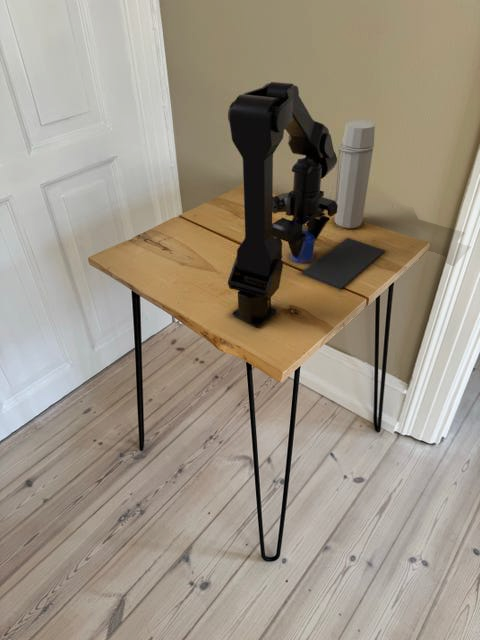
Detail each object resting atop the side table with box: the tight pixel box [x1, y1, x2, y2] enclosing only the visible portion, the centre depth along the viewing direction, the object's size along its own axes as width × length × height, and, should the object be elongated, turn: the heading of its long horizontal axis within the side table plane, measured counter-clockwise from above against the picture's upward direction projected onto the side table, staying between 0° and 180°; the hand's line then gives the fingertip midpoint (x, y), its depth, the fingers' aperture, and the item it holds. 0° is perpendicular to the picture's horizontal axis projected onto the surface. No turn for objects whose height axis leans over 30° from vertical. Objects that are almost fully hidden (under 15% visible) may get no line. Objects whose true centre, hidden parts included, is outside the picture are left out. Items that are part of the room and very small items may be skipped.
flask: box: [290, 224, 316, 264], centre depth 107 cm, size 5×5×8 cm
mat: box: [301, 237, 386, 290], centre depth 107 cm, size 20×10×1 cm, turn 140°
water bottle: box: [328, 119, 376, 230], centre depth 114 cm, size 9×8×25 cm
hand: (302, 251), depth 108 cm, fingers open, 6 cm apart
